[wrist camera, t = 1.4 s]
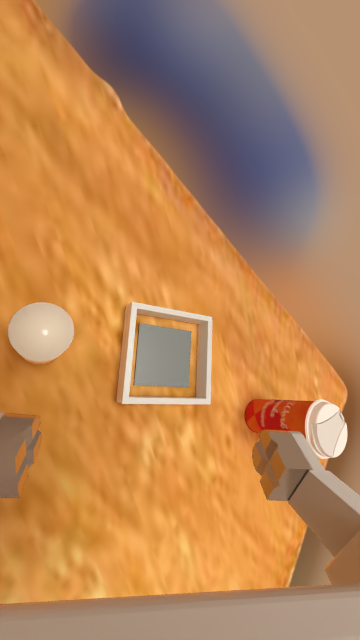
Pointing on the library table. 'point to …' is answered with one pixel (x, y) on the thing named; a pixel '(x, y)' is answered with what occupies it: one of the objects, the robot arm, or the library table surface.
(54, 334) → the white pillar candle
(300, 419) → the paper cup
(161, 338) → the corral
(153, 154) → the library table surface
